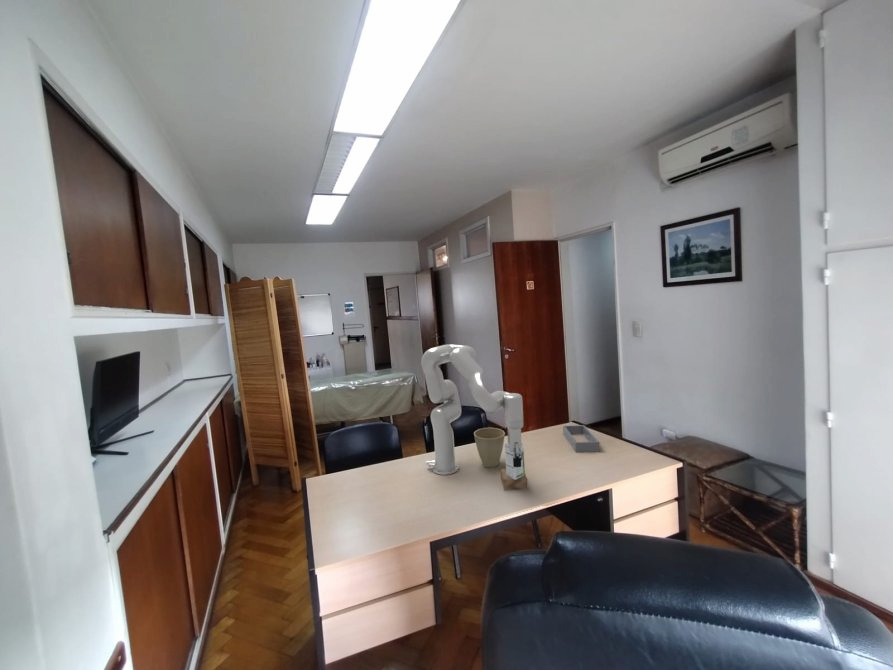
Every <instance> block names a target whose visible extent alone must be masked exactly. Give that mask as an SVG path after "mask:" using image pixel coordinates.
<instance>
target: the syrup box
mask: <svg viewBox="0 0 893 670" xmlns="http://www.w3.org/2000/svg"><path fill="white" fill-rule="evenodd" d="M514 450H516V449H514ZM515 453H516V452H515ZM524 455H525V452H524V444H523V443H522V442H521V452H520V456H521V467H514V466H513V457H514V455H513V452H510V451H509V444H508V442H507V443H504V458H505V469H506V475H507V476H509V477H511V478H513V479H515V480H516V479H518V478H520V477H523V476H525V474H526V473H525V456H524Z"/></svg>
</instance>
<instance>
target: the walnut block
mask: <svg viewBox="0 0 893 670" xmlns="http://www.w3.org/2000/svg"><path fill="white" fill-rule="evenodd" d="M500 481H501V484H502V488H503V491H516V490H517V491H519V490H528V487H529V486H528V477H527V475H526V473H525V476H523V477H520V478H518V479H516V480H515V479H513V478H511V477H509V476H507V475H506V468H500Z"/></svg>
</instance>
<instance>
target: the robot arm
mask: <svg viewBox="0 0 893 670" xmlns="http://www.w3.org/2000/svg"><path fill="white" fill-rule="evenodd" d="M476 359H477V353H476V350H475V349H474V348H473V347H472V346H469V345H463V344H462V345H461V344H442V345H439V346H435V347H431V348H429V349H426V351H425V352H424V353H422V357H421V360H420V362H421V363H420V364H421V368H422V371H423V374H424V378H425V383H426V387H427V393H428V396H429V399H430V401H431V402H432V403H433V404H440V403H442V404H440V405H438V406H436V407H435V408H433V409H432V410H431V413H430V421H431V425H432V431H433V440H434V441H433V442H434V444H433V445H434V459H432V460H426V465H427V466H428V467H430V468H431V467H432V471H433V473H434V474H437V475H440V476H447V475H452V474H454V473H457V472H458V471H459V469H460V468H459V467H460V465H459V464H458V463H456V454H455V437H454V431H453V427H452V426H451V423H452V422H454V421H455V420H457V419H459V418H460V417H461V415H462V405H461V400H460V395H459V390H458V387H457V385H456V384H455V382H453V380H451V379H444V375H443V371H442V370H441V368H440V365H442V364H443V365H444V364H446V363H450V362H451V364H452V366H454V368H455V369H457V371H458V372H459V373H460V374H461V376H463V378H464V379H465V380H466V382H467V383H468V387H469V391H470V393H471V396H472V398H473V400H475V402H476V403H477V404H478V405H479V407H480V408H481V409H483V410H484V412H486V413H489V414H494V413H496V412H498V411H500V410H501V409H504V421H505V422H504V423H505V425H504V426H505V428H507V443H508V444H509V451H510V452H513V455H514V457H513V466H514V467H521V456H520V452H521V443H522V428H524V410H523V409H524V406H523V405H524V404H523V403H524V402H523V396H522V395H521V394H520V393H515V392H508V391H504V390H495V391H494V392H492V393H490V392H489V391H488V390H487V389H486V387H485V386H484V384H483V374H484V369H483V368H482V367H481V366H480V365H479V364H478V363H477V362H476ZM514 449H516V450H514ZM515 452H516V453H515Z"/></svg>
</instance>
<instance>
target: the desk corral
mask: <svg viewBox="0 0 893 670" xmlns="http://www.w3.org/2000/svg"><path fill="white" fill-rule="evenodd" d="M562 435H563V436H564V438H565V439H566V441H567V442H568V444H569V445H570V446H571V448H572V449H573V451H574V452H575V453H595V452H596V453H597V452H601V451H600V449H601V448H600V441H599V440H598V439H597V438H596V437H595V435H593V433H592V432H591V431H590V430H589V429H588V428H587V426H585V424H582V425H580V424H578V425H577V424H575V425H562ZM573 435H583V437H584V438H585V439H586V440H587V441H576V439H575V438H574V437H573Z"/></svg>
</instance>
